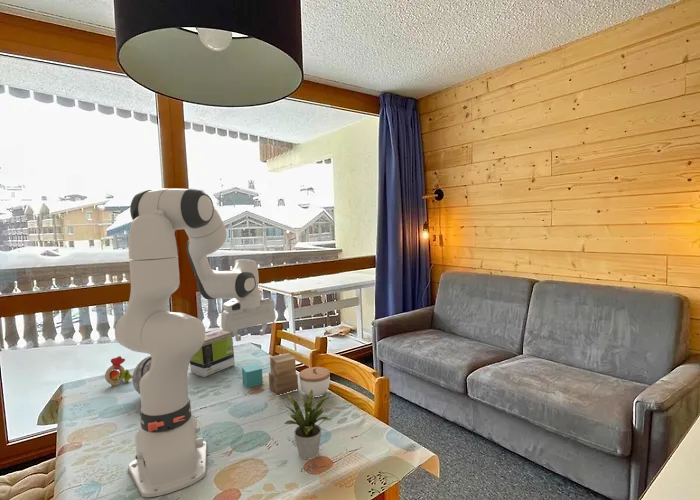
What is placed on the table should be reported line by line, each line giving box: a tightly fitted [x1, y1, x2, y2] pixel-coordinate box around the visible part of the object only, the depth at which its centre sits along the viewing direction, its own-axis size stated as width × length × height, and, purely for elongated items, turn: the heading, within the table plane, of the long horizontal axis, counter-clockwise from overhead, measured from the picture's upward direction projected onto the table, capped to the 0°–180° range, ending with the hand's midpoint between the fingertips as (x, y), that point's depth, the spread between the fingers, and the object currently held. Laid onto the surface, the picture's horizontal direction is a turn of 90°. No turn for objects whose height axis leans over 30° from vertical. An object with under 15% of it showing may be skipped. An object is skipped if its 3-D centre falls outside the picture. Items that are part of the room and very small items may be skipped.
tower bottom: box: [268, 371, 299, 396], centre depth 142 cm, size 8×8×6 cm
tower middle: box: [269, 352, 297, 379], centre depth 141 cm, size 7×7×6 cm
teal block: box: [241, 363, 264, 389], centre depth 148 cm, size 6×6×6 cm
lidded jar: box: [298, 366, 331, 397], centre depth 137 cm, size 11×11×9 cm
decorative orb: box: [131, 355, 152, 395], centre depth 140 cm, size 15×14×15 cm
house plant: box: [283, 389, 333, 460], centre depth 101 cm, size 14×14×16 cm
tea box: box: [189, 329, 236, 378], centre depth 163 cm, size 15×10×15 cm
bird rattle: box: [104, 355, 133, 387], centre depth 152 cm, size 6×11×9 cm
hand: (250, 337), depth 147 cm, fingers open, 8 cm apart
